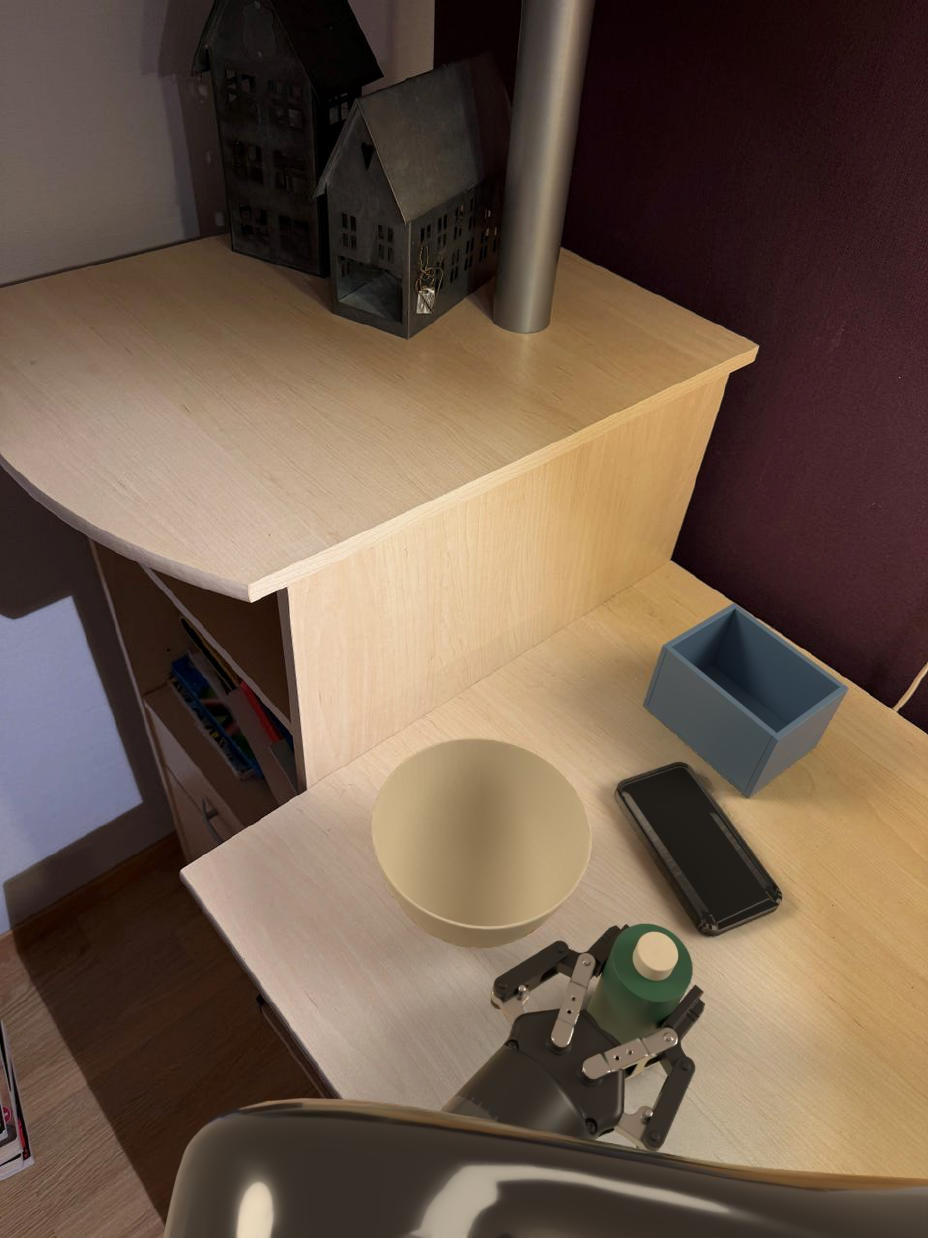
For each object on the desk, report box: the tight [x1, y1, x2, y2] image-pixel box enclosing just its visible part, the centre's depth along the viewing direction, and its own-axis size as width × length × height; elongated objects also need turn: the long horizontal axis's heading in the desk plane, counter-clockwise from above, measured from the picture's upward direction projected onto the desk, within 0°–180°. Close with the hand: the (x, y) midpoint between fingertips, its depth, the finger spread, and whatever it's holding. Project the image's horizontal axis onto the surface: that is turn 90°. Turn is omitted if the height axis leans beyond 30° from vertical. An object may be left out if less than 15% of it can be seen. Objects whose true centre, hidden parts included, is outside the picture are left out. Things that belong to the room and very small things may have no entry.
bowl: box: [370, 736, 593, 949], centre depth 69 cm, size 16×16×10 cm
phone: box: [614, 761, 784, 938], centre depth 77 cm, size 8×1×15 cm
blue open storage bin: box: [642, 602, 850, 799], centre depth 84 cm, size 13×10×8 cm
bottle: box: [585, 923, 694, 1044], centre depth 61 cm, size 5×5×12 cm
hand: (661, 962), depth 62 cm, fingers closed on bottle, 5 cm apart
